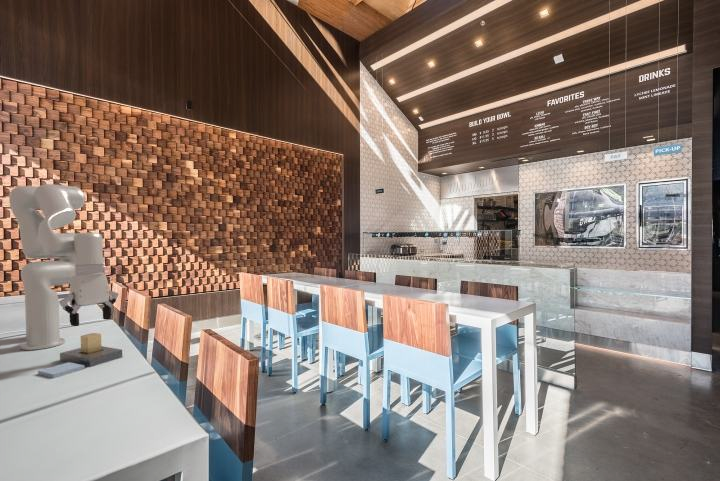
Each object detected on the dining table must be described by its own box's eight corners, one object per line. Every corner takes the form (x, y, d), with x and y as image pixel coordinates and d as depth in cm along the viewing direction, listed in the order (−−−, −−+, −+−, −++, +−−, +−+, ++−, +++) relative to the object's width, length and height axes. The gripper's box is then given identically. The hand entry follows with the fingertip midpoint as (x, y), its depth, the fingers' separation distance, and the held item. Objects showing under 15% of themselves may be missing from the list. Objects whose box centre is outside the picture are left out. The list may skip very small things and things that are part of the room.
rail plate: (60, 360, 120) (59, 353, 120) (93, 351, 129) (92, 344, 129) (89, 366, 113) (89, 358, 113) (122, 357, 122) (122, 349, 122)
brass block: (81, 360, 120) (80, 335, 120) (94, 356, 124) (93, 332, 123) (88, 361, 118) (87, 336, 118) (101, 357, 122) (101, 333, 122)
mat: (38, 374, 108) (38, 370, 108) (69, 365, 115) (69, 362, 115) (53, 377, 104) (53, 374, 104) (84, 368, 112) (84, 365, 112)
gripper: (109, 268, 130) (111, 316, 130) (52, 272, 114) (54, 327, 114) (123, 268, 127) (125, 317, 127) (66, 272, 111) (68, 329, 111)
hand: (91, 322), depth 121 cm, fingers open, 9 cm apart
